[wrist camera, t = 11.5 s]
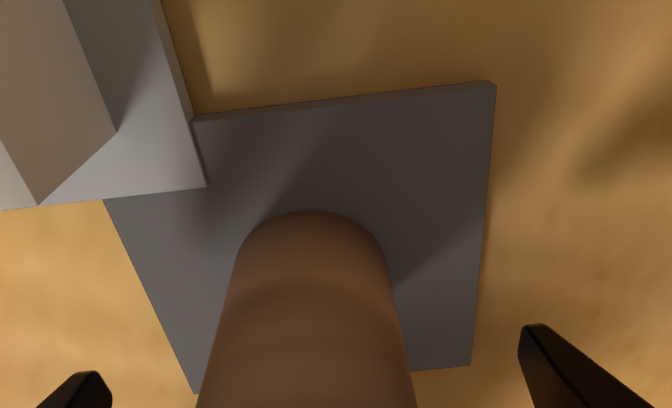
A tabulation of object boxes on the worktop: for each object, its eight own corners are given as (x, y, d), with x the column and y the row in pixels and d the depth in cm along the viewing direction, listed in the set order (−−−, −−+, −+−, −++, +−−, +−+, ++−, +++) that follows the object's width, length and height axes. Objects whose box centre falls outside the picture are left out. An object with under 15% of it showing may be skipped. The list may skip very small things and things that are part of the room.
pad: (465, 352, 14) (470, 365, 13) (197, 380, 14) (193, 394, 14) (488, 80, 9) (496, 86, 9) (83, 128, 9) (72, 137, 9)
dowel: (388, 318, 12) (434, 553, 7) (252, 332, 12) (211, 572, 7) (382, 201, 10) (439, 422, 5) (217, 219, 10) (129, 452, 5)
